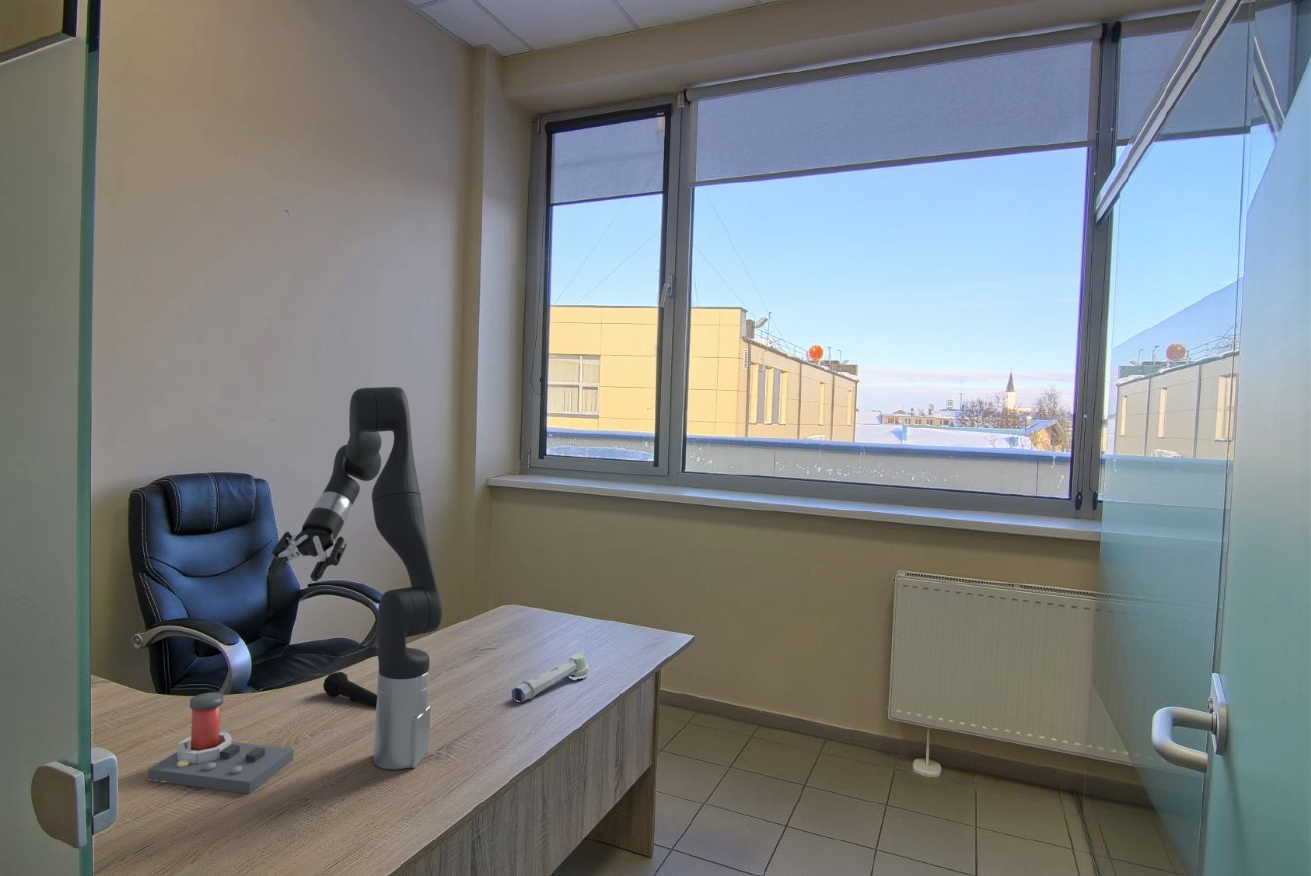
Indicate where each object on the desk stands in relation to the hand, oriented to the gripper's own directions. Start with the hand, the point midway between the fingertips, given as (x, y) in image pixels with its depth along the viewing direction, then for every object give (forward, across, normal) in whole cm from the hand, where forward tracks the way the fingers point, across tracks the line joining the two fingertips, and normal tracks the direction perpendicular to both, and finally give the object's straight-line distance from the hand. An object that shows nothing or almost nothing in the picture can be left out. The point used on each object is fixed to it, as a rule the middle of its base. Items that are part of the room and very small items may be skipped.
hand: (294, 577), depth 146 cm
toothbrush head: (0, +50, +44) cm, 67 cm away
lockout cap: (+34, -3, +6) cm, 35 cm away
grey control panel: (+36, +2, +6) cm, 37 cm away
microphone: (+14, +10, +30) cm, 34 cm away
